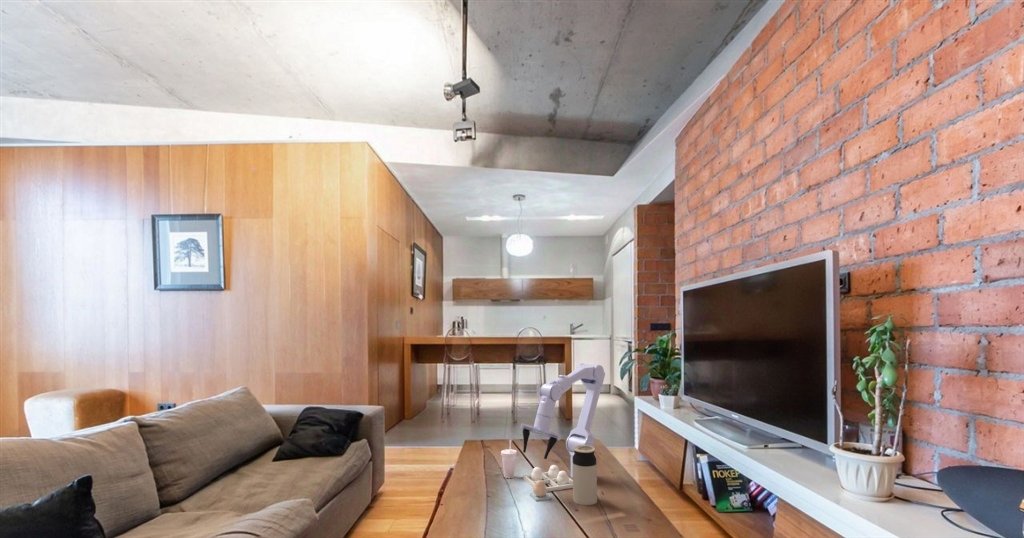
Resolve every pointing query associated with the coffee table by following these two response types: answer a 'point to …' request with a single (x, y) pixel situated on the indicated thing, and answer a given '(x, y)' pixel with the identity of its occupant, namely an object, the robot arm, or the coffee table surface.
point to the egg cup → (539, 497)
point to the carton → (548, 480)
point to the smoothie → (509, 462)
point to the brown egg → (540, 489)
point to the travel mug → (584, 475)
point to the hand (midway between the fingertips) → (534, 455)
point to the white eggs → (551, 475)
